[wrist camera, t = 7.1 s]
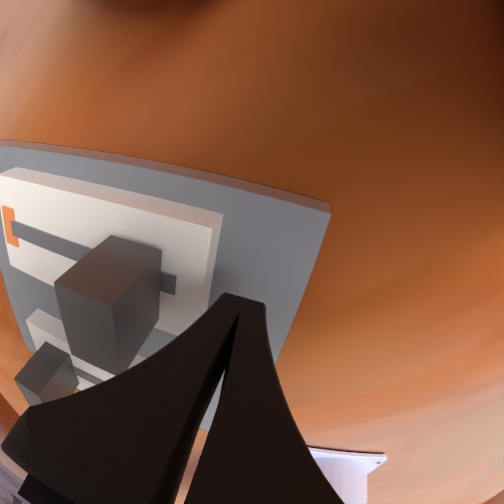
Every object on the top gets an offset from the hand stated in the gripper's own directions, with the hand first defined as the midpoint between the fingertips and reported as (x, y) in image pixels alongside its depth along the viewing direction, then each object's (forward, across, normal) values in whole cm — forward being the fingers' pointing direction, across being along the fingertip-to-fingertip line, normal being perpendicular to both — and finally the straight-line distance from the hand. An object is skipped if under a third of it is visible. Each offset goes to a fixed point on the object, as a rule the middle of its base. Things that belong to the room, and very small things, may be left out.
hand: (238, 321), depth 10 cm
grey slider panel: (+3, +7, +4) cm, 9 cm away
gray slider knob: (+1, +4, 0) cm, 4 cm away
